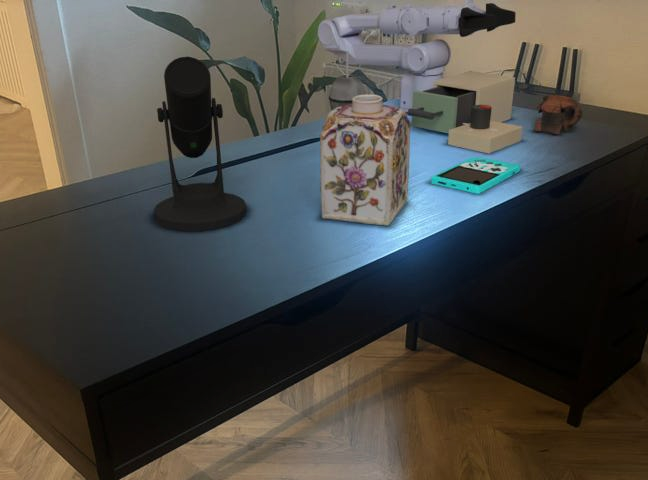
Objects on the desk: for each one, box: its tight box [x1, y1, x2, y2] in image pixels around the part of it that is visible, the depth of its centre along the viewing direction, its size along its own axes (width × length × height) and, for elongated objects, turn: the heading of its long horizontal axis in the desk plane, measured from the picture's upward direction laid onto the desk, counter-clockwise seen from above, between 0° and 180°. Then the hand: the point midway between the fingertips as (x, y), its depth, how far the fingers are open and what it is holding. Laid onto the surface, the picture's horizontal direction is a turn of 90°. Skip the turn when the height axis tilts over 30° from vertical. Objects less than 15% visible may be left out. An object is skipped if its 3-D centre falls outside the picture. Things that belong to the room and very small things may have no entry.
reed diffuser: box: [328, 51, 367, 111], centre depth 141 cm, size 7×7×20 cm
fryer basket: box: [407, 86, 477, 135], centre depth 160 cm, size 18×11×7 cm, turn 136°
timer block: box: [447, 121, 523, 155], centre depth 153 cm, size 11×12×3 cm
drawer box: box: [433, 70, 516, 123], centre depth 167 cm, size 14×12×9 cm
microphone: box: [153, 56, 247, 232], centre depth 114 cm, size 15×17×25 cm
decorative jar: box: [319, 94, 412, 227], centre depth 116 cm, size 12×12×18 cm
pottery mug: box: [534, 94, 583, 135], centre depth 160 cm, size 12×10×8 cm
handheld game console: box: [430, 157, 521, 195], centre depth 134 cm, size 10×16×1 cm, turn 141°
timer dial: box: [470, 105, 492, 129], centre depth 152 cm, size 4×4×4 cm
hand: (504, 19), depth 154 cm, fingers open, 7 cm apart
